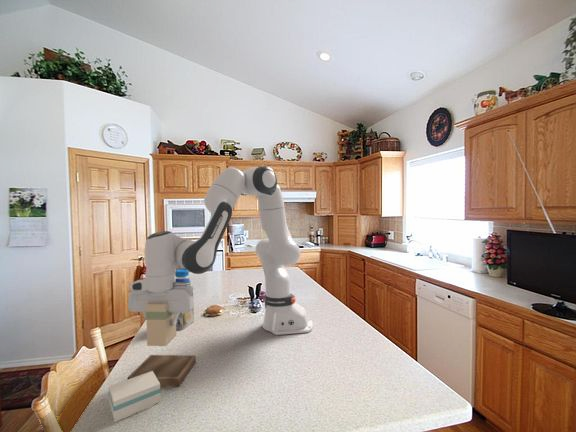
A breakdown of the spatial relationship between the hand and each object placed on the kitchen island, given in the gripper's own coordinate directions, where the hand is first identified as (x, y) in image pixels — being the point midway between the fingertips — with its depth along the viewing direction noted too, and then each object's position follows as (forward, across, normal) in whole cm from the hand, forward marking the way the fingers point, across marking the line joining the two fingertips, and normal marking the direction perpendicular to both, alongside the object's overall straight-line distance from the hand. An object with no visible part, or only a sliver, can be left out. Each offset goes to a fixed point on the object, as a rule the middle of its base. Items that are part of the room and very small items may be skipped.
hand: (162, 324), depth 90 cm
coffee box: (+16, +10, -37) cm, 42 cm away
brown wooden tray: (+16, 0, 0) cm, 16 cm away
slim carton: (+5, 0, 0) cm, 5 cm away
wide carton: (+16, +1, +14) cm, 21 cm away
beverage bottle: (+16, +20, -60) cm, 65 cm away
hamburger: (+16, -1, -53) cm, 55 cm away
